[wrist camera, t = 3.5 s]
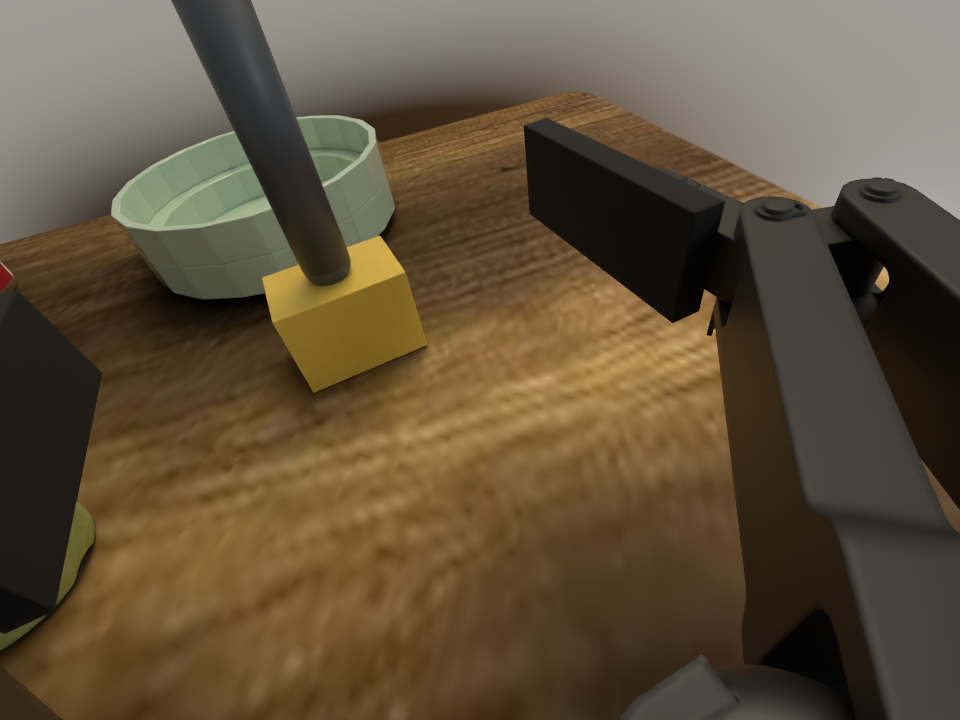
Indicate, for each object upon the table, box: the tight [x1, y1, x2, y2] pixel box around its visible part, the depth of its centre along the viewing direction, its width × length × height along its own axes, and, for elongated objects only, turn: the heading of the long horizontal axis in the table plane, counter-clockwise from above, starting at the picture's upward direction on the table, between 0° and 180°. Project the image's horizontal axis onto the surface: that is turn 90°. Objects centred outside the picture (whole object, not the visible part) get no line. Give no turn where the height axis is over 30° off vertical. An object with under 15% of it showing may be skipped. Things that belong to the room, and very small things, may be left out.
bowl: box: [111, 116, 395, 299], centre depth 33 cm, size 17×17×6 cm
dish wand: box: [172, 0, 427, 393], centre depth 19 cm, size 6×4×17 cm, turn 115°
